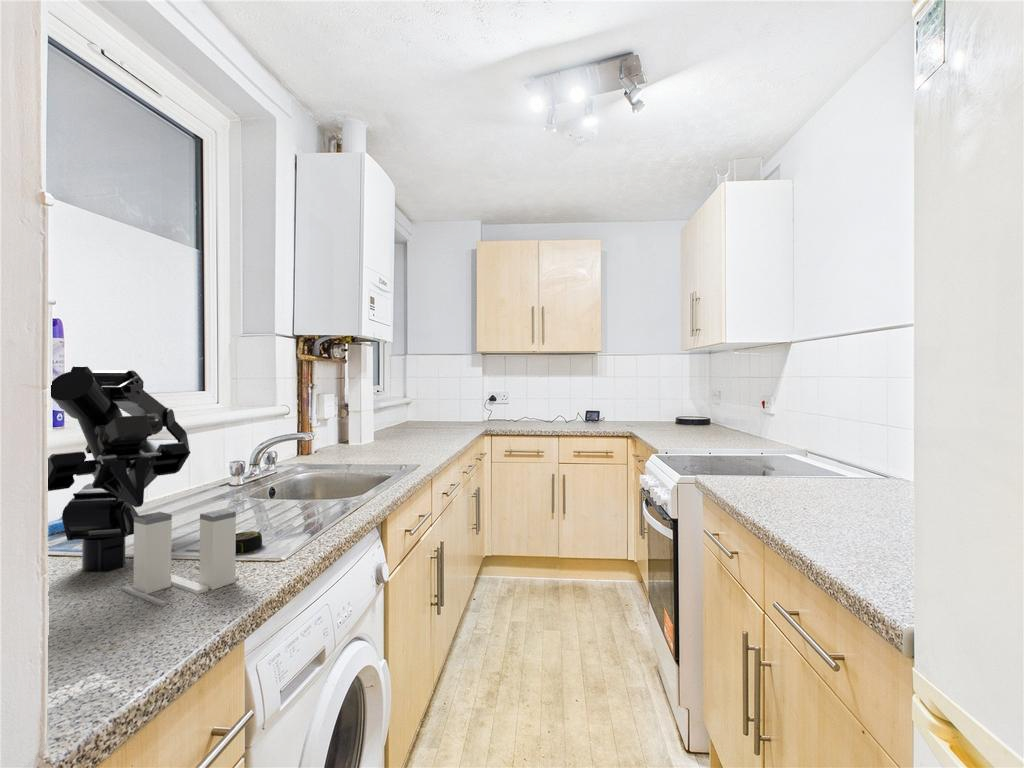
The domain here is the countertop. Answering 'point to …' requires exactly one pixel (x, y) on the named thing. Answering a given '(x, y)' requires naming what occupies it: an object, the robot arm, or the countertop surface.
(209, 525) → the tab
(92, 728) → the countertop surface
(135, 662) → the countertop surface
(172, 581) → the switch board
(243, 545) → the tape measure
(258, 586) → the countertop surface
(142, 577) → the tab
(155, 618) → the countertop surface
